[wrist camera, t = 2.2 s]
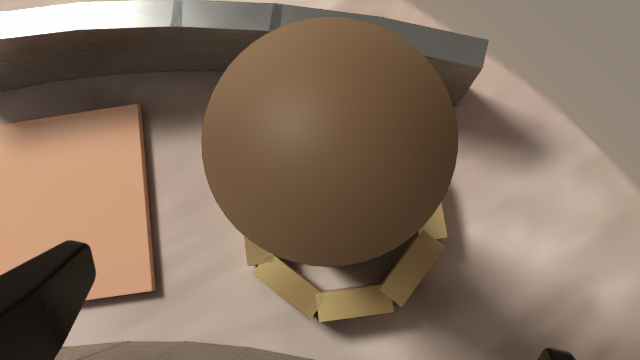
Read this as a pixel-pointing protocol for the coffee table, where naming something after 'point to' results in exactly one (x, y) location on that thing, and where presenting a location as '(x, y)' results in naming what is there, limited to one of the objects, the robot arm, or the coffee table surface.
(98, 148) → the tile
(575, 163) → the coffee table surface
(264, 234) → the brown cylinder
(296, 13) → the gray curved bar
